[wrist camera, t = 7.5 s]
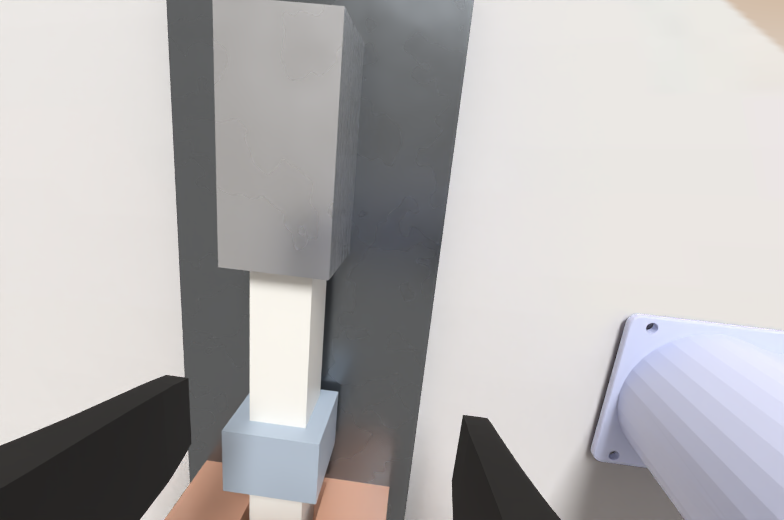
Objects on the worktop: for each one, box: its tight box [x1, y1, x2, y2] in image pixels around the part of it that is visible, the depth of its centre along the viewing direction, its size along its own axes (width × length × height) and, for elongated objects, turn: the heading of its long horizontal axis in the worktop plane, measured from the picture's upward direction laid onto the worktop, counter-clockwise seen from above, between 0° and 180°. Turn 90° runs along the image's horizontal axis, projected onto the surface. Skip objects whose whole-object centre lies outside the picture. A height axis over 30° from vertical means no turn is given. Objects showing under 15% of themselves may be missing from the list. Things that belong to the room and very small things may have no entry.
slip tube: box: [222, 271, 338, 520], centre depth 17 cm, size 4×16×4 cm, turn 174°
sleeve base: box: [166, 0, 474, 520], centre depth 17 cm, size 12×28×5 cm, turn 175°
